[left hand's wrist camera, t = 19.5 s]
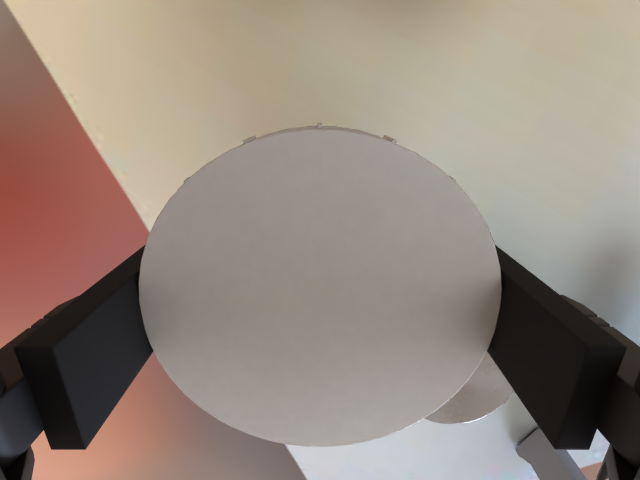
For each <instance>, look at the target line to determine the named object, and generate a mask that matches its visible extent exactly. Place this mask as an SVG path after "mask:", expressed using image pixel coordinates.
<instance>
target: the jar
mask: <svg viewBox="0 0 640 480" xmlns="http://www.w3.org/2000/svg"><path fill="white" fill-rule="evenodd" d="M512 392H513V388H512V387H511V385H510V384H509V382H508V381H507V380H506V378H505V377H504V375H503V374H502V372H501V371H500V369H499V368H498V366H497V365H496V364H495V362H494V361H493V359H492V358H491V356H490V355H489V353H488V352H487V351H486V353H485V355H484V357H483V359H482V360H481V362H480V364H479V366H478V367H477V369H476V370H475V371H474V373H473V374H472V375H471V377H470V378H469V379H468V381H467V382H466V383H465V384H464V385H463V386H462V387H461V388H460V389H459V391H458V392H457V393H456V394H455V395H454V396H453V397H452V398H450V399H449V400H448V401H447V402H446V403H444V404H443V405H442V406H441V407H440V408H438V409H437V410H436V411H434V412H433V413H431V414H429V415H428V416H426V417H425V419H427V420H430V421H433V422H437V423H443V424H461V423H467V422H471V421H475V420H478V419H480V418H483V417H485V416H487V415H489V414H490V413H492V412H494V411H495V410H496V409H498V408H499V407H500V406H501V405H502V404H503V403H505V401H506V400H507V399H508V398H509V396H510V395H511V393H512Z"/></svg>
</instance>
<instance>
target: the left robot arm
mask: <svg viewBox="0 0 640 480" xmlns="http://www.w3.org/2000/svg"><path fill="white" fill-rule="evenodd" d="M495 247H496V252H497V256H498V260H499V264H500V272H501V286H502V291H501V303H500V309H499V314H498V318H497V323H496V328H495V332H494V335H493V337H492V340H491V342H490V345H489V347H488V350H487V352H488V353H489V355H490V356H491V358H492V359H493V361H494V362H495V364H496V365H497V366H498V368H499V369H500V371H501V372H502V374H503V375H504V377H505V378H506V380H507V381H508V382H509V384H510V385H511V387H512V388H513V390H514V391H515V393H516V394H517V395H518V397H519V398H520V400H521V401H522V403H523V404H524V406H525V407H526V409H527V410H528V411H529V413H530V414H531V416H532V417H533V419H534V420H535V422H536V423H537V425H538V426H539V427H540V429H541V430H542V432H543V433H544V435H545V436H546V438H547V439H548V440H549V442H550V443H551V445H552V446H553V448H554V449H555V450H589V448H590V446H591V443H592V440H593V438H594V435H595V432H596V430H597V429H598V430H599V431H600V432H601V433H602V435H603V436H604V437H605V438H606V439H607V440H608V442H609V443H610V445H609V448H608V450H607V453H606V455H605V458H604V460H603V463H602V465H601V468H600V470H599V473H598V475H597V479H596V480H605V479H607V478H609V480H640V347H639V346H638V345H636V344H635V343H634V342H632V341H631V340H630V339H628V338H627V337H626V336H624V335H623V334H622V333H620V332H619V331H618V330H616V329H615V328H614V327H610V326H609V325H610V324H608V323H607V322H606V321H604V320H603V319H601V318H600V317H597V315H596V314H595V313H593V312H592V311H591V310H589V309H588V308H587V307H585V306H584V305H583V304H581V303H579V302H576V301H574V300H572V299H570V298H568V297H566V296H564V295H559V294H558V293H556V292H555V291H554V290H553V289H551V288H550V287H549V286H547V285H546V284H545V283H544V282H542V281H541V280H540V279H538V278H537V277H536V276H534V275H533V274H532V273H531V272H529V271H528V270H527V269H525V268H524V267H523V266H522V265H520V264H519V263H518V262H516V261H515V260H514V259H513V258H511V257H510V256H509V255H507V254H506V253H505V252H504V251H502V250H501V249H500V248H498V247H497V246H496V245H495ZM144 249H145V246H143V247H142V248H141V249H139V250H138V251H137V252H135V253H134V254H133V255H132V256H130V257H129V258H128V259H126V260H125V261H124V262H123V263H121V264H120V265H119V266H117V267H116V268H115V269H114V270H112V271H111V272H110V273H108V274H107V275H106V276H104V277H103V278H102V279H101V280H99V281H98V282H97V283H95V284H94V285H93V286H92V287H90V288H89V289H88V290H86V291H85V292H84V293H83V294H81V295H80V296H77V297H75V298H73V299H71V300H69V301H67V302H65V303H63V304H61V305H58V306H57V307H56V308H54V309H53V310H52V311H50V312H49V313H48V314H46V315H45V316H44V318H43V319H40V320H38V321H37V322H36V323H34V324H33V325H32V326H31V328H28V329H26V330H25V331H24V332H22V333H21V334H20V335H18V336H17V337H16V338H14V339H13V340H12V341H10V342H9V343H8V344H6V345H5V346H4V347H2V348H1V349H0V480H31V478H32V473H33V467H34V461H35V460H34V453H33V451H32V448H31V444H32V443H33V442H34V440H35V439H36V438H37V437H38V436H39V435H40V434H41V432H42V431H43V430H44V431H45V434H46V437H47V439H48V442H49V445H50V447H51V449H86V448H87V447H88V445H89V444H90V442H91V441H92V439H93V438H94V436H95V435H96V434H97V432H98V431H99V429H100V428H101V426H102V425H103V423H104V422H105V420H106V419H107V418H108V416H109V415H110V413H111V412H112V410H113V409H114V407H115V406H116V405H117V403H118V402H119V400H120V399H121V397H122V396H123V394H124V393H125V391H126V390H127V389H128V387H129V386H130V384H131V383H132V381H133V380H134V378H135V377H136V376H137V374H138V373H139V371H140V370H141V368H142V367H143V365H144V364H145V362H146V361H147V360H148V358H149V357H150V355H151V354H152V352H153V349H152V347H151V345H150V343H149V340H148V337H147V334H146V331H145V327H144V323H143V318H142V313H141V308H140V303H139V275H140V266H141V260H142V256H143V253H144Z"/></svg>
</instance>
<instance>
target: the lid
mask: <svg viewBox="0 0 640 480" xmlns="http://www.w3.org/2000/svg"><path fill="white" fill-rule="evenodd" d="M396 142H397V140H395V139H393V138H390V137H388V136H385V135H384V137H383V138H382V137H379V136H376V135H373V134H369V133H366V132H363V131H360V130H354V129H348V128H342V127H335V126H322V123H318V126H308V127H299V128H291V129H285V130H282V131H278V132H274V133H270V134H267V135H264V136H261V137H259V138H256V136H253V137H250V138H248V139H245V140H243V143H244V144H242V145H240V146H238V147H236V148H234V149H231V150H229V151H227V152H226V153H224V154H222V155H221V156H219V157H217V158H216V159H214V160H212V161H211V162H209V163H207V164H206V165H205V166H203V167H202V168H201V169H200V170H199V171H197V172H196V173H195V174H194V175H192V176H191V177H189V178H187V179H185V180H184V182H185V183H184V184H183V185H182V186H181V187H180V188H179V189H178V190H177V191H176V193H175V194H174V195H173V196H172V197H171V198H170V199H169V201H168V202H167V204H166V205H165V207H164V208H163V210H162V211H161V213H160V214H159V216H158V217H157V219H156V221H155V223H154V226H153V228H152V230H151V232H150V234H149V237H148V239H147V242H146V245H145V249H144V253H143V256H142V260H141V266H140V275H139V303H140V308H141V313H142V318H143V323H144V327H145V331H146V334H147V337H148V340H149V343H150V345H151V347H152V349H153V351H154V353H155V355H156V357H157V359H158V361H159V362H160V364H161V365H162V367H163V368H164V370H165V371H166V373H167V374H168V375H169V377H170V378H171V379H172V380H173V382H174V383H175V384H176V385H177V386H178V387H179V388H180V390H181V391H182V392H183V393H184V394H185V395H187V396H188V397H189V398H190V399H191V400H192V401H193V402H194V403H195V404H197V405H198V406H199V407H201V408H202V409H203V410H205V411H206V412H208V413H209V414H210V415H212V416H213V417H215V418H217V419H218V420H220V421H222V422H224V423H226V424H227V425H229V426H231V427H233V428H236V429H238V430H240V431H243V432H245V433H247V434H250V435H253V436H256V437H259V438H263V439H266V440H270V441H274V442H279V443H284V444H289V445H298V446H308V447H330V446H342V445H350V444H356V443H361V442H367V441H370V440H374V439H377V438H381V437H384V436H387V435H390V434H392V433H395V432H397V431H400V430H402V429H405V428H407V427H409V426H411V425H412V424H414V423H416V422H418V421H420V420H422V419H423V418H425V417H426V416H428V415H429V414H431V413H433V412H434V411H436V410H437V409H438V408H440V407H441V406H442V405H443V404H444V403H446V402H447V401H448V400H449V399H450V398H452V397H453V396H454V395H455V394H456V393H457V392H458V391H459V389H460V388H461V387H462V386H463V385H464V384H465V383H466V382H467V381H468V379H469V378H470V377H471V375H472V374H473V373H474V371H475V370H476V369H477V367H478V366H479V364H480V362H481V360H482V359H483V357H484V355H485V353H486V351H487V350H488V347H489V345H490V342H491V340H492V337H493V335H494V332H495V328H496V323H497V318H498V314H499V309H500V303H501V291H502V286H501V272H500V264H499V260H498V256H497V252H496V247H495V244H494V241H493V239H492V237H491V234H490V232H489V229H488V227H487V224H486V223H485V221H484V219H483V218H482V216H481V214H480V213H479V211H478V209H477V208H476V206H475V204H474V203H473V202H472V201H471V199H470V198H469V197H468V196H467V195H466V193H465V192H464V191H463V190H462V189H461V187H460V186H459V185H458V184H457V183H456V180H455V179H454V178H452V177H450V176H448V175H447V174H445V173H444V172H443V171H442V170H441V169H440V168H438V167H437V166H435V165H434V164H432V163H431V162H429V161H428V160H426V159H425V158H423V157H422V156H420V155H419V154H417V153H415V152H412V151H410V150H408V149H406V148H404V147H402V146H400V145H397V144H396Z"/></svg>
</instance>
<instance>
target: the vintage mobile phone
mask: <svg viewBox="0 0 640 480" xmlns="http://www.w3.org/2000/svg"><path fill="white" fill-rule="evenodd" d="M515 450H516V452H517V454H518V455H519V456H520V457H521V458H523V459H524V460H525V461H527V462H528V463H530V464H531V466H532V467H533V469H534V471H535V472H536V474H537V476H538V477H539V479H540V480H587V478H586V477H585V476H584V474H583V473H582V471H581V470H580V469H579V467H578V466H577V465H576V463H575V462H574V460H573V459H572V458H571V456H570V455H569V453H568V452H567V451H566V450H555V449H554V448H553V446H552V445H551V443H550V442H549V440H548V439H547V438H546V436H545V435H544V433H543V432H542V430H541V429H539V428H538V429H536V430H535V431H534V432H533V433H532V434H531V435H530V436H528V437H527V438H526V439H525V440H524V441H523V442H522V443H520V444H519V445H518V446H517V447H516V449H515Z"/></svg>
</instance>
